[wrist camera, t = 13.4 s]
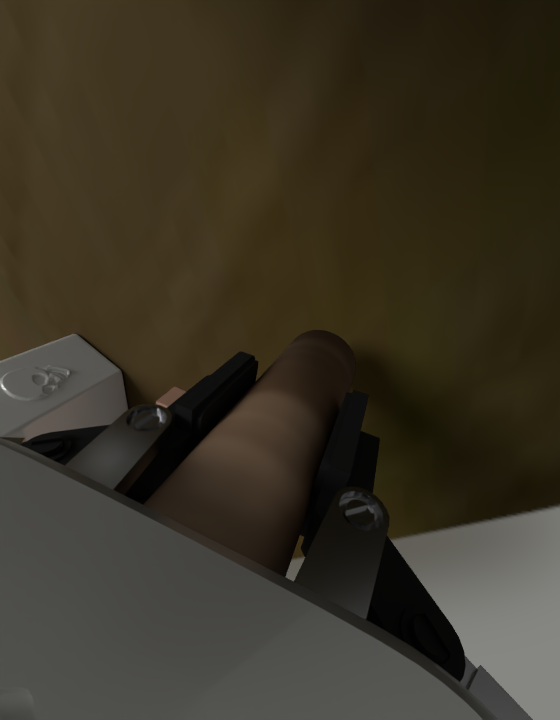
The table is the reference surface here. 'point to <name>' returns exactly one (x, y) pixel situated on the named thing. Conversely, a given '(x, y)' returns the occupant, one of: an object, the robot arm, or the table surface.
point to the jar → (59, 389)
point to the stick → (264, 455)
